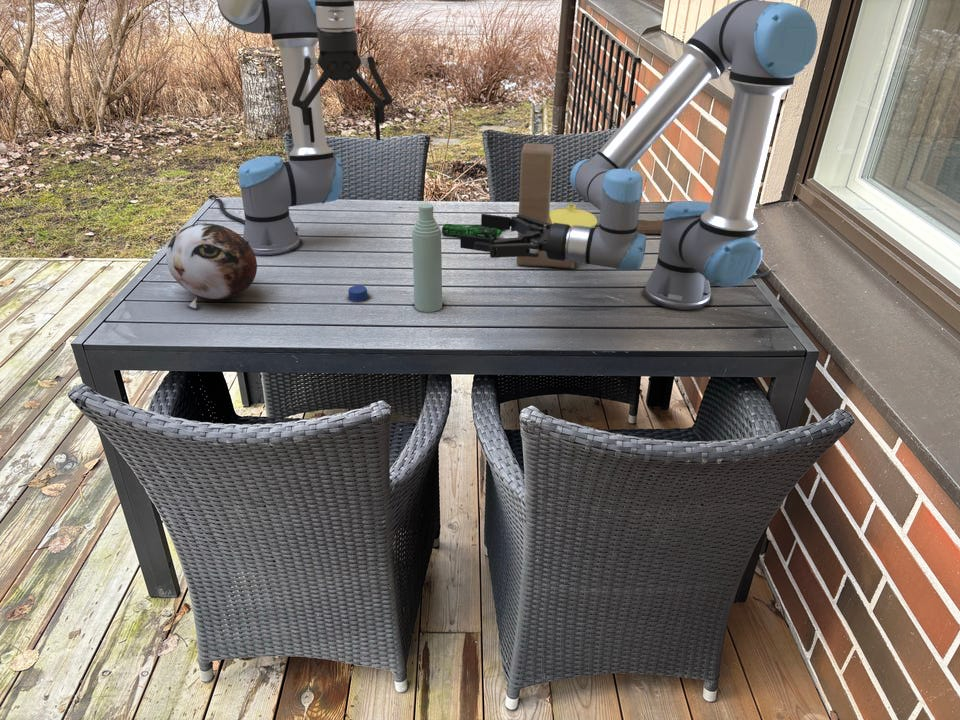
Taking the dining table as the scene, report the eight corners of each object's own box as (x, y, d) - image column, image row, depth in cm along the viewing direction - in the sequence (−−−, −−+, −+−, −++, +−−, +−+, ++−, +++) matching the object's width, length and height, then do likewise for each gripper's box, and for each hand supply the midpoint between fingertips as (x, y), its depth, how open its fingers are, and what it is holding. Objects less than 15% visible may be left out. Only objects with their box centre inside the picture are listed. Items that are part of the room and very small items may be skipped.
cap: (366, 292, 172) (365, 284, 171) (368, 300, 168) (367, 292, 167) (348, 294, 171) (347, 286, 170) (349, 302, 167) (349, 293, 166)
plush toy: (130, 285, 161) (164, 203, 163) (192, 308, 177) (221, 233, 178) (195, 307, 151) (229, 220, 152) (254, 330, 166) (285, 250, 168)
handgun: (511, 219, 210) (493, 234, 198) (511, 228, 211) (492, 244, 199) (461, 212, 215) (440, 226, 203) (461, 221, 217) (440, 236, 204)
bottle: (442, 312, 164) (440, 210, 151) (414, 312, 163) (410, 210, 151) (442, 299, 169) (440, 200, 157) (415, 300, 169) (411, 200, 157)
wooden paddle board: (699, 237, 207) (691, 225, 216) (700, 231, 206) (692, 220, 215) (610, 234, 207) (606, 222, 216) (611, 228, 207) (607, 217, 215)
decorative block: (573, 269, 185) (584, 153, 170) (516, 265, 187) (521, 149, 171) (574, 258, 192) (584, 145, 176) (518, 254, 193) (523, 142, 178)
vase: (559, 216, 220) (561, 193, 217) (605, 227, 212) (608, 204, 209) (532, 230, 209) (533, 207, 206) (580, 242, 201) (582, 218, 198)
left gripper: (270, 32, 135) (284, 146, 145) (402, 31, 139) (406, 142, 150) (272, 27, 141) (285, 137, 152) (398, 27, 145) (402, 133, 156)
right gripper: (553, 283, 139) (451, 268, 145) (579, 239, 160) (489, 227, 165) (556, 247, 136) (451, 233, 141) (582, 207, 156) (489, 196, 162)
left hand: (345, 140), depth 151 cm, fingers open, 13 cm apart
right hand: (471, 230), depth 153 cm, fingers open, 13 cm apart
